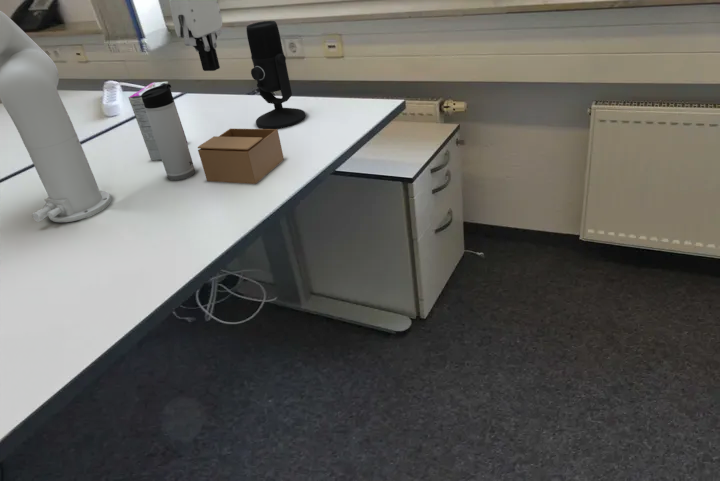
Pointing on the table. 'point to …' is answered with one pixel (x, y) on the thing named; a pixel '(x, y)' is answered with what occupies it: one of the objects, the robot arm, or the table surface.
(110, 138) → the table surface
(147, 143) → the candy bar box
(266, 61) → the microphone
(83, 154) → the robot arm
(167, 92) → the travel mug
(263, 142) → the carton
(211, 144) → the front flap
